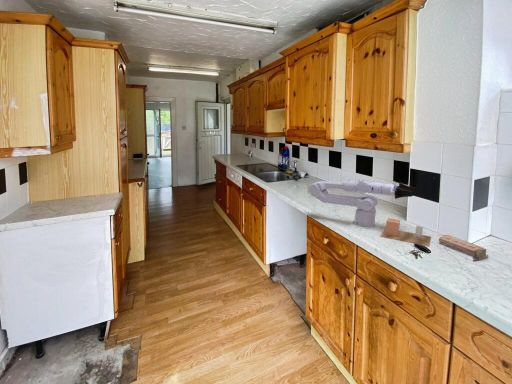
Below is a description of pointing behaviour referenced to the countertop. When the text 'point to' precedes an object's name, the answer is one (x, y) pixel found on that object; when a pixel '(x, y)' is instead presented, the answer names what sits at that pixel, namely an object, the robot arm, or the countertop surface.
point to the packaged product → (464, 247)
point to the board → (409, 238)
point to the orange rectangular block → (392, 227)
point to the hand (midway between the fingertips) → (414, 192)
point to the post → (418, 233)
